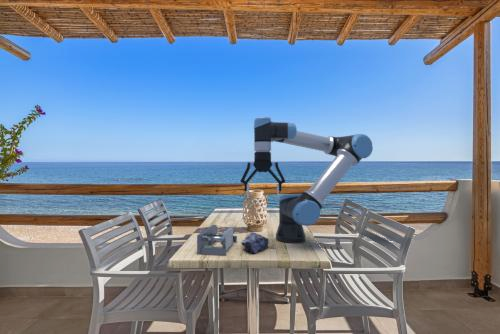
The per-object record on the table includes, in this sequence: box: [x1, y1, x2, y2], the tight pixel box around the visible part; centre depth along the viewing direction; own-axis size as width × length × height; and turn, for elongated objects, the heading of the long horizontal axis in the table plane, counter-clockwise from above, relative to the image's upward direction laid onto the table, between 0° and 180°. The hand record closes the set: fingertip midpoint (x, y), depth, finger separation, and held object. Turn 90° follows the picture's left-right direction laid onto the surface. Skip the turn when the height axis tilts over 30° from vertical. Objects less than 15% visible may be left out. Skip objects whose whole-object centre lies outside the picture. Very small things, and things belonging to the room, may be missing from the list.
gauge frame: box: [196, 224, 238, 257], centre depth 135 cm, size 12×23×8 cm, turn 170°
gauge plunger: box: [208, 226, 235, 252], centre depth 135 cm, size 12×21×8 cm, turn 170°
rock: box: [240, 231, 270, 254], centre depth 132 cm, size 14×10×10 cm
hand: (263, 198), depth 132 cm, fingers open, 13 cm apart
